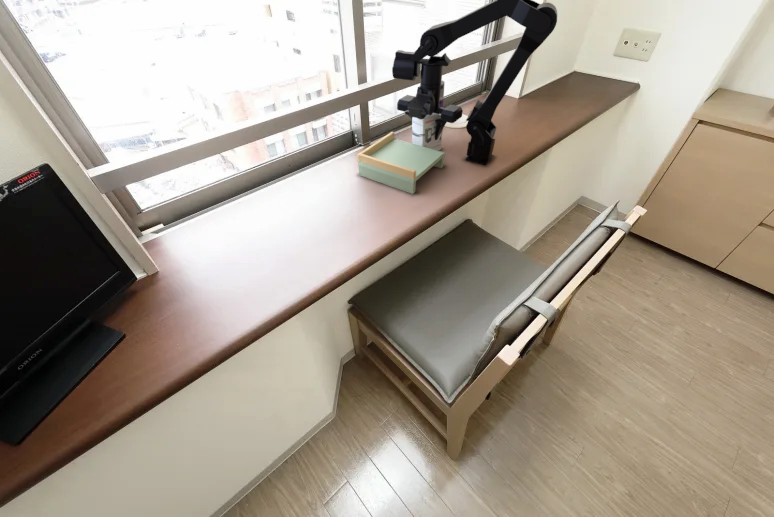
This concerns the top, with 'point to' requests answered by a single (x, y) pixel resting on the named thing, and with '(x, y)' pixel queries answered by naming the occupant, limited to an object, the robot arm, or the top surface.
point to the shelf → (397, 162)
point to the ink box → (426, 132)
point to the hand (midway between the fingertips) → (427, 137)
